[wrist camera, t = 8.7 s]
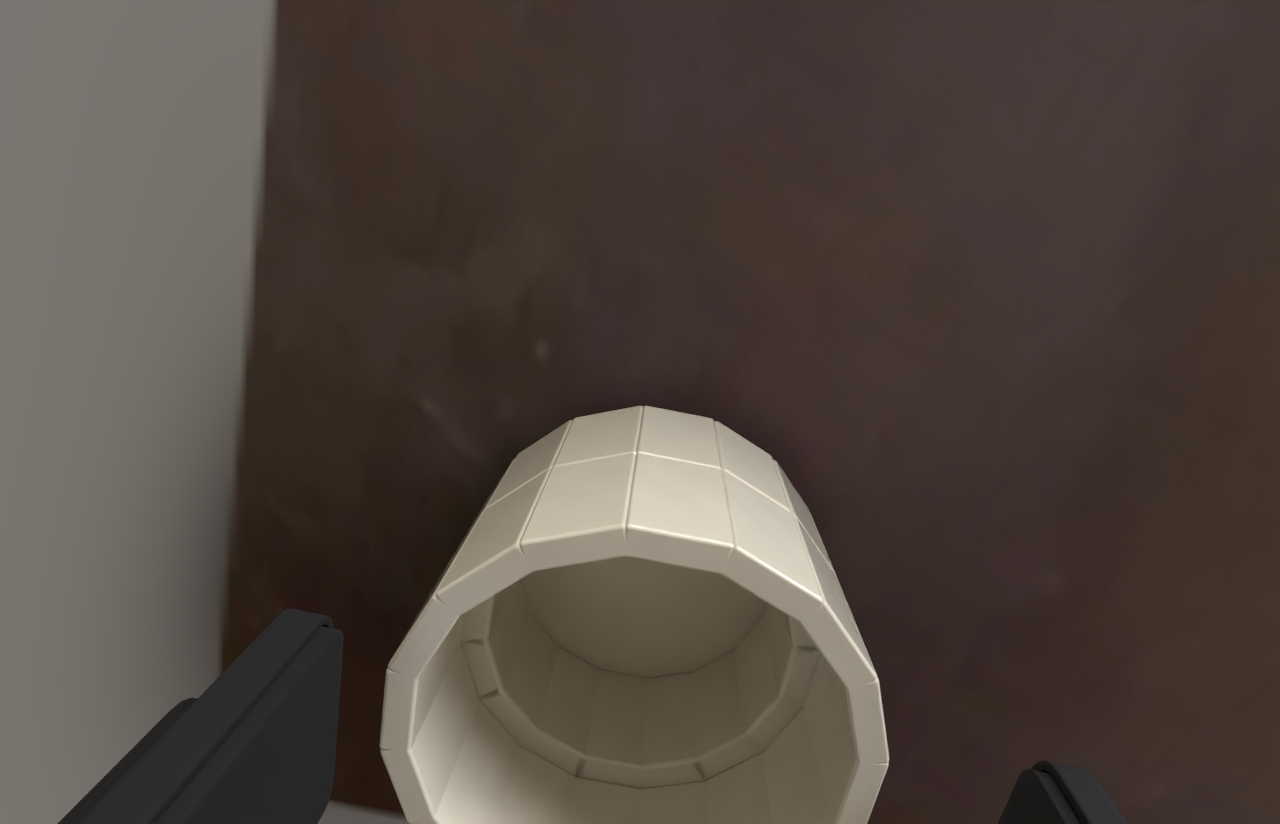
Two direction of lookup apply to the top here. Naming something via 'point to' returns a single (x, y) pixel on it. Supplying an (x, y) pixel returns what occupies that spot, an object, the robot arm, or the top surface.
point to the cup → (636, 645)
